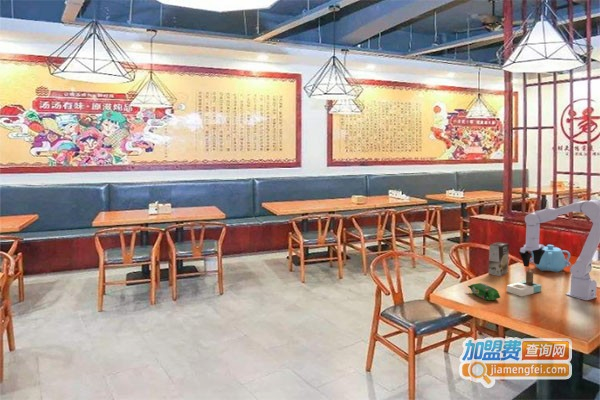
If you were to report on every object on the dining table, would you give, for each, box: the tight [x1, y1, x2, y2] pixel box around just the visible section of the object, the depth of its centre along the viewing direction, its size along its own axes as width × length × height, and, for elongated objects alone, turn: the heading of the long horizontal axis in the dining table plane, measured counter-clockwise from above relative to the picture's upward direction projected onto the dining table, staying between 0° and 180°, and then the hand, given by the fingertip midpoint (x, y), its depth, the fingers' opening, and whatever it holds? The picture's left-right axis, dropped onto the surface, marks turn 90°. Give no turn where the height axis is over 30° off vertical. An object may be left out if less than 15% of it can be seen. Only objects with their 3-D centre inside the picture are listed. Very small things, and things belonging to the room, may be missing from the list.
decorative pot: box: [529, 244, 572, 273], centre depth 242 cm, size 16×16×14 cm
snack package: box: [467, 282, 501, 301], centre depth 205 cm, size 7×16×5 cm, turn 13°
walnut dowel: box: [525, 270, 534, 286], centre depth 211 cm, size 3×3×9 cm
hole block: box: [506, 280, 542, 297], centre depth 210 cm, size 8×14×3 cm, turn 117°
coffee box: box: [488, 241, 510, 277], centre depth 238 cm, size 9×6×16 cm
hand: (531, 265), depth 216 cm, fingers open, 7 cm apart
